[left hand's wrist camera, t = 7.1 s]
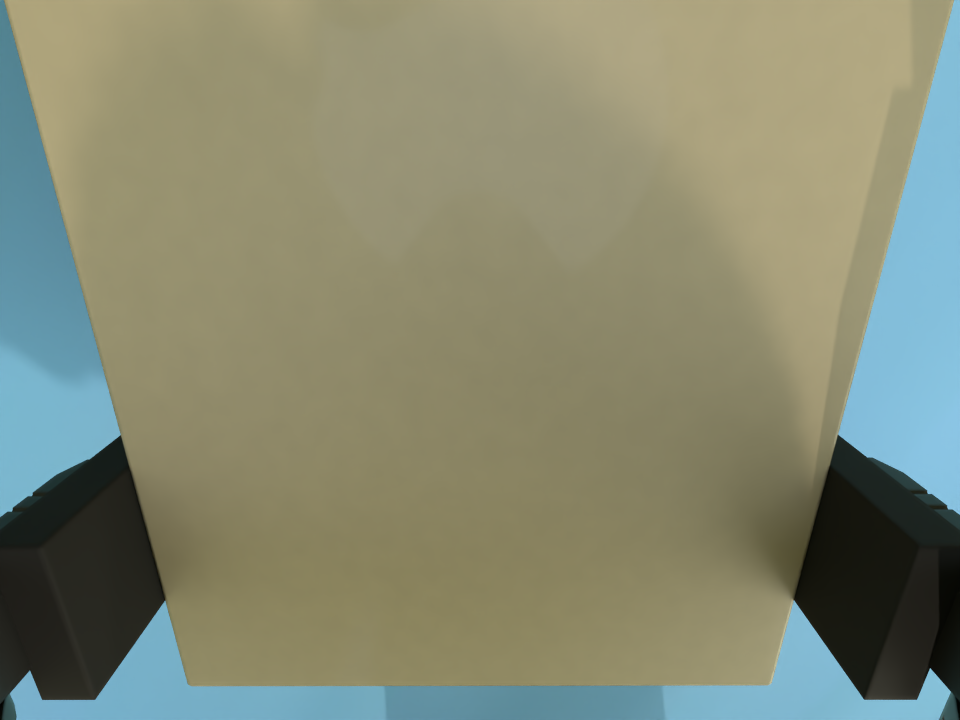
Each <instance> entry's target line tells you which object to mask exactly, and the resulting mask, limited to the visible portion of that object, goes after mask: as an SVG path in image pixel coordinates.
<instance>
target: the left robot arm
mask: <svg viewBox="0 0 960 720" xmlns="http://www.w3.org/2000/svg"><path fill="white" fill-rule="evenodd" d="M164 601H165V597H164V594H163V590H162V586H161V582H160V579H159V575H158V571H157V567H156V564H155V560H154V556H153V553H152V549H151V545H150V541H149V538H148V534H147V530H146V527H145V523H144V519H143V515H142V512H141V508H140V504H139V500H138V497H137V493H136V489H135V486H134V482H133V478H132V474H131V471H130V467H129V463H128V460H127V456H126V452H125V448H124V445H123V441H122V437H121V435H120V436H119V437H118V438H117V439H115V440H114V441H113V442H112V443H110V444H109V445H108V446H106V447H105V448H104V449H103V450H101V451H100V452H99V453H97V454H96V455H95V456H94V457H92V458H91V459H90V460H86V461H84V462H82V463H80V464H77V465H75V466H73V467H71V468H69V469H67V470H65V471H63V472H61V473H59V474H57V475H56V476H54V477H53V478H52V479H50V480H49V481H48V482H46V483H45V484H44V485H42V486H41V487H40V488H38V489H37V490H36V491H34V492H33V495H32V496H28V497H27V498H25V499H24V500H23V501H21V502H20V503H19V504H17V505H16V506H15V507H13V511H12V512H7V513H5V514H4V515H3V516H1V517H0V720H16V711H15V706H14V703H13V700H12V698H11V696H10V692H11V691H12V690H13V689H14V688H15V687H16V685H17V684H18V683H19V682H20V681H21V680H22V679H23V677H24V676H25V675H26V674H27V673H28V672H29V671H31V674H32V676H33V678H34V681H35V683H36V686H37V688H38V691H39V693H40V695H41V698H42V700H95V699H96V698H97V696H98V695H99V693H100V692H101V691H102V689H103V688H104V686H105V685H106V683H107V682H108V681H109V679H110V678H111V676H112V675H113V674H114V672H115V671H116V669H117V668H118V666H119V665H120V664H121V662H122V661H123V659H124V658H125V657H126V655H127V654H128V652H129V651H130V649H131V648H132V647H133V645H134V644H135V642H136V641H137V639H138V638H139V637H140V635H141V634H142V632H143V631H144V630H145V628H146V627H147V625H148V624H149V622H150V621H151V620H152V618H153V617H154V615H155V614H156V613H157V611H158V610H159V608H160V607H161V605H162V604H163V603H164ZM794 601H795V602H796V603H797V605H798V606H799V608H800V609H801V611H802V612H803V613H804V615H805V616H806V618H807V619H808V620H809V622H810V623H811V625H812V626H813V628H814V629H815V630H816V632H817V633H818V635H819V636H820V637H821V639H822V640H823V642H824V643H825V645H826V646H827V647H828V649H829V650H830V652H831V653H832V655H833V656H834V657H835V659H836V660H837V662H838V663H839V664H840V666H841V667H842V669H843V670H844V672H845V673H846V674H847V676H848V677H849V679H850V680H851V681H852V683H853V684H854V686H855V687H856V689H857V690H858V691H859V693H860V694H861V696H862V697H863V699H864V700H917V698H918V696H919V693H920V691H921V689H922V686H923V684H924V681H925V679H926V676H927V674H928V672H929V669H930V668H931V669H932V670H933V672H934V673H935V674H936V675H937V676H938V677H939V678H940V680H941V681H942V682H943V683H944V684H945V685H946V686H947V688H948V689H949V690H950V691H951V694H950V696H949V698H948V700H947V703H946V705H945V707H944V709H943V712H942V714H941V716H940V719H939V720H960V515H959V514H958V513H956V512H955V511H954V510H948V509H947V505H946V504H944V503H943V502H942V501H940V500H939V499H938V498H936V497H935V496H934V495H932V494H927V490H926V489H924V488H923V487H922V486H920V485H919V484H918V483H916V482H915V481H914V480H912V479H911V478H910V477H908V476H907V475H906V474H904V473H903V472H901V471H899V470H897V469H895V468H893V467H891V466H889V465H886V464H884V463H882V462H880V461H878V460H876V459H874V458H867V457H866V456H864V455H863V454H862V453H861V452H859V451H858V450H857V449H855V448H854V447H853V446H852V445H850V444H849V443H848V442H847V441H845V440H844V439H843V438H841V437H840V436H839V435H838V436H837V440H836V444H835V447H834V451H833V455H832V459H831V462H830V466H829V470H828V474H827V477H826V481H825V485H824V489H823V492H822V496H821V500H820V503H819V507H818V511H817V515H816V518H815V522H814V526H813V530H812V533H811V537H810V541H809V545H808V548H807V552H806V556H805V560H804V563H803V567H802V571H801V575H800V578H799V582H798V586H797V590H796V593H795V597H794Z"/></svg>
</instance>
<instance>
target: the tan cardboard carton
mask: <svg viewBox="0 0 960 720" xmlns="http://www.w3.org/2000/svg"><path fill="white" fill-rule="evenodd" d="M4 2H5V6H6V9H7V13H8V17H9V20H10V24H11V28H12V32H13V35H14V39H15V43H16V46H17V50H18V54H19V58H20V61H21V65H22V69H23V73H24V76H25V80H26V84H27V87H28V91H29V95H30V99H31V102H32V106H33V110H34V113H35V117H36V121H37V125H38V128H39V132H40V136H41V140H42V143H43V147H44V151H45V154H46V158H47V162H48V166H49V169H50V173H51V177H52V180H53V184H54V188H55V192H56V195H57V199H58V203H59V206H60V210H61V214H62V218H63V221H64V225H65V229H66V233H67V236H68V240H69V244H70V247H71V251H72V255H73V259H74V262H75V266H76V270H77V273H78V277H79V281H80V285H81V288H82V292H83V296H84V300H85V303H86V307H87V311H88V314H89V318H90V322H91V326H92V329H93V333H94V337H95V340H96V344H97V348H98V352H99V355H100V359H101V363H102V367H103V370H104V374H105V378H106V381H107V385H108V389H109V393H110V396H111V400H112V404H113V407H114V411H115V415H116V419H117V422H118V426H119V430H120V434H121V437H122V441H123V445H124V448H125V452H126V456H127V460H128V463H129V467H130V471H131V474H132V478H133V482H134V486H135V489H136V493H137V497H138V500H139V504H140V508H141V512H142V515H143V519H144V523H145V527H146V530H147V534H148V538H149V541H150V545H151V549H152V553H153V556H154V560H155V564H156V567H157V571H158V575H159V579H160V582H161V586H162V590H163V594H164V597H165V601H166V605H167V608H168V612H169V616H170V620H171V623H172V627H173V631H174V634H175V638H176V642H177V646H178V649H179V653H180V657H181V661H182V664H183V668H184V672H185V675H186V679H187V683H188V684H189V685H190V686H623V685H769V684H771V683H772V679H773V676H774V672H775V668H776V664H777V661H778V657H779V653H780V649H781V646H782V642H783V638H784V634H785V631H786V627H787V623H788V619H789V616H790V612H791V608H792V605H793V601H794V597H795V593H796V590H797V586H798V582H799V578H800V575H801V571H802V567H803V563H804V560H805V556H806V552H807V548H808V545H809V541H810V537H811V533H812V530H813V526H814V522H815V518H816V515H817V511H818V507H819V503H820V500H821V496H822V492H823V489H824V485H825V481H826V477H827V474H828V470H829V466H830V462H831V459H832V455H833V451H834V447H835V444H836V440H837V436H838V432H839V429H840V425H841V421H842V417H843V414H844V410H845V406H846V402H847V399H848V395H849V391H850V388H851V384H852V380H853V376H854V373H855V369H856V365H857V361H858V358H859V354H860V350H861V346H862V343H863V339H864V335H865V331H866V328H867V324H868V320H869V316H870V313H871V309H872V305H873V301H874V298H875V294H876V290H877V286H878V283H879V279H880V275H881V272H882V268H883V264H884V260H885V257H886V253H887V249H888V245H889V242H890V238H891V234H892V230H893V227H894V223H895V219H896V215H897V212H898V208H899V204H900V200H901V197H902V193H903V189H904V185H905V182H906V178H907V174H908V171H909V167H910V163H911V159H912V156H913V152H914V148H915V144H916V141H917V137H918V133H919V129H920V126H921V122H922V118H923V114H924V111H925V107H926V103H927V99H928V96H929V92H930V88H931V84H932V81H933V77H934V73H935V69H936V66H937V62H938V58H939V55H940V51H941V47H942V43H943V40H944V36H945V32H946V28H947V25H948V21H949V17H950V13H951V10H952V6H953V2H954V0H4Z"/></svg>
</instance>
